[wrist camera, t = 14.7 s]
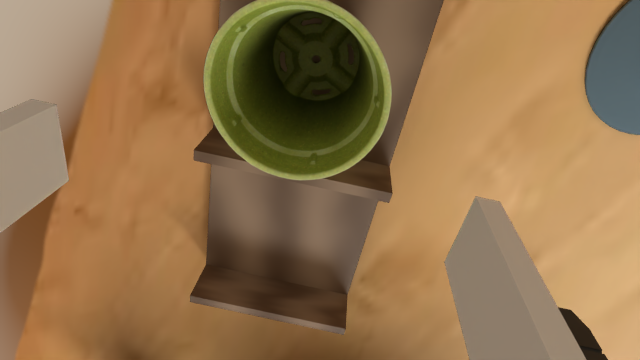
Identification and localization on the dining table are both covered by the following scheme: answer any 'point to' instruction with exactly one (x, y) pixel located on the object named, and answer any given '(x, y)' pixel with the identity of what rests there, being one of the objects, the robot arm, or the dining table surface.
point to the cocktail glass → (617, 71)
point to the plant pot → (297, 88)
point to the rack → (307, 195)
